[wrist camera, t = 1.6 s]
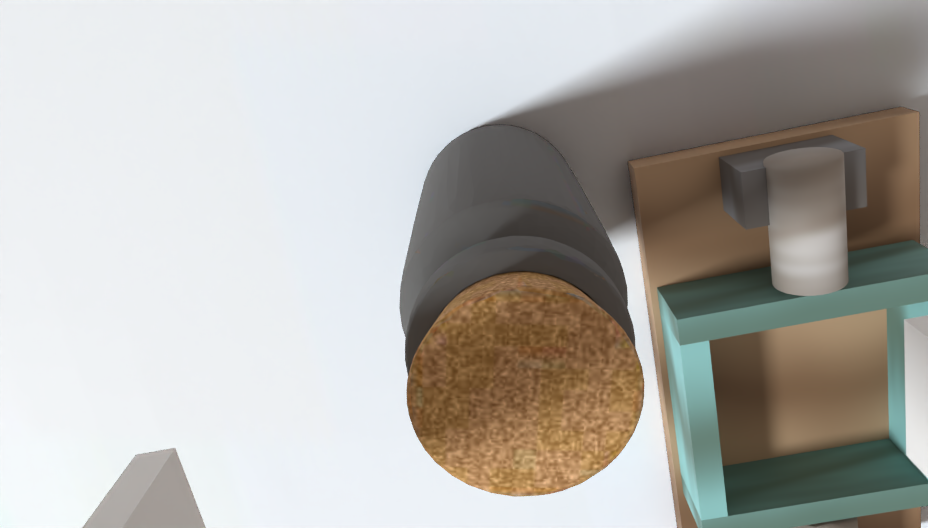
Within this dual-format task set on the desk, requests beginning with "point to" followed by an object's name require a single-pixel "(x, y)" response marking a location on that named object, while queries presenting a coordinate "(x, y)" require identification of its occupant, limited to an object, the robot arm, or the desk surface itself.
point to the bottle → (516, 320)
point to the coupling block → (787, 322)
